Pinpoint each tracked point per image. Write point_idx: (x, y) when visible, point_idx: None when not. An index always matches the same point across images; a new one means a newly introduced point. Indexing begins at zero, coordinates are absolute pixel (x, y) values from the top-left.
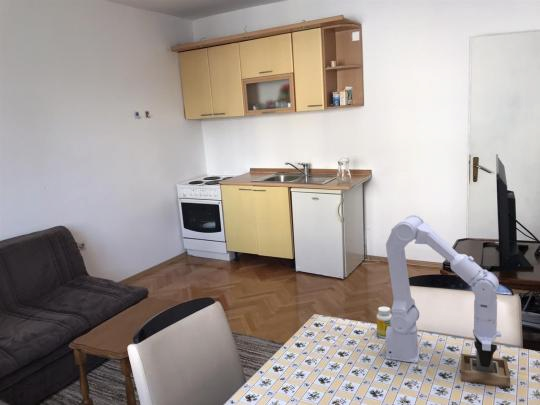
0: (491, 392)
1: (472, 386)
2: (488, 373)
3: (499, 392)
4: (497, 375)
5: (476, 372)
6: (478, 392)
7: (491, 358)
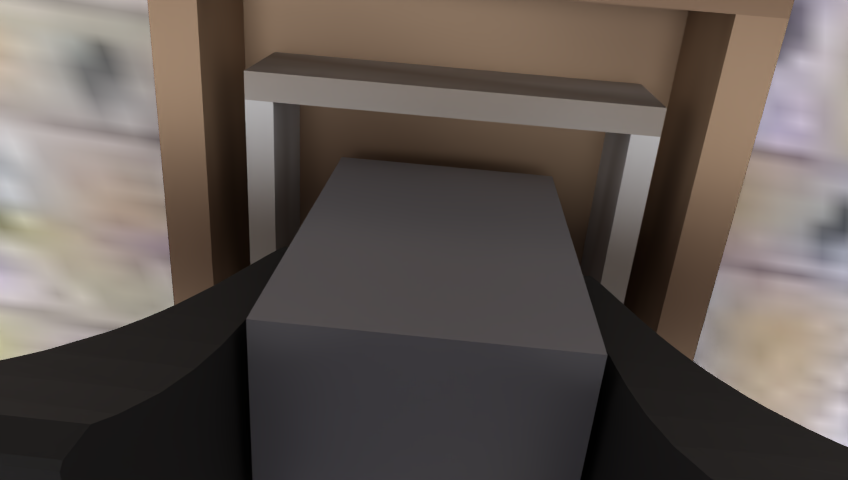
0: (833, 203)
1: (709, 372)
2: (672, 270)
3: (835, 111)
4: (725, 156)
5: None
6: (830, 333)
7: (680, 353)
